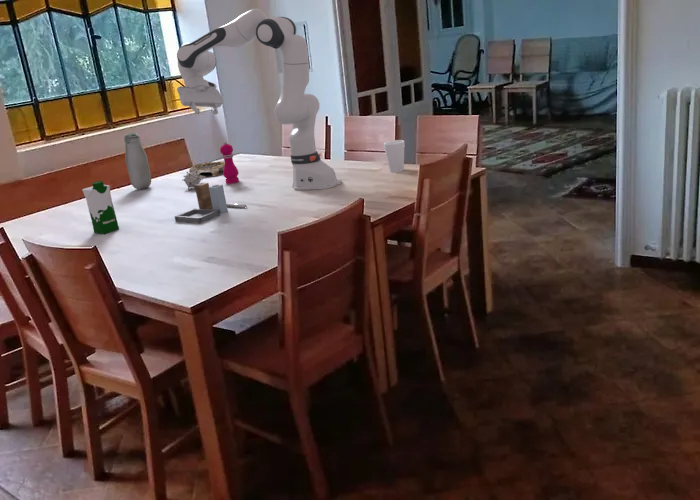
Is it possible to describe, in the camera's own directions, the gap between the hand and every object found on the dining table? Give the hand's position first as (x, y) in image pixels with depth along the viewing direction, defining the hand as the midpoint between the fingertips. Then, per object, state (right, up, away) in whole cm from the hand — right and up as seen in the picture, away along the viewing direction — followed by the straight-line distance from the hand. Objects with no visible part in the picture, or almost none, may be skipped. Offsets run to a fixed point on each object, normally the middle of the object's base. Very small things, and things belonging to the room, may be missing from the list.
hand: (207, 113), depth 303 cm
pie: (-10, -20, +59) cm, 64 cm away
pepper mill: (+6, -28, +29) cm, 40 cm away
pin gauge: (+16, -42, -19) cm, 49 cm away
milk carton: (-34, -53, -29) cm, 69 cm away
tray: (+2, -47, -28) cm, 55 cm away
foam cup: (+84, -25, +8) cm, 88 cm away
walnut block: (+3, -43, -17) cm, 46 cm away
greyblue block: (+10, -45, -24) cm, 52 cm away
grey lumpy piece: (-12, -31, +28) cm, 43 cm away
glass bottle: (-40, -30, +41) cm, 65 cm away
